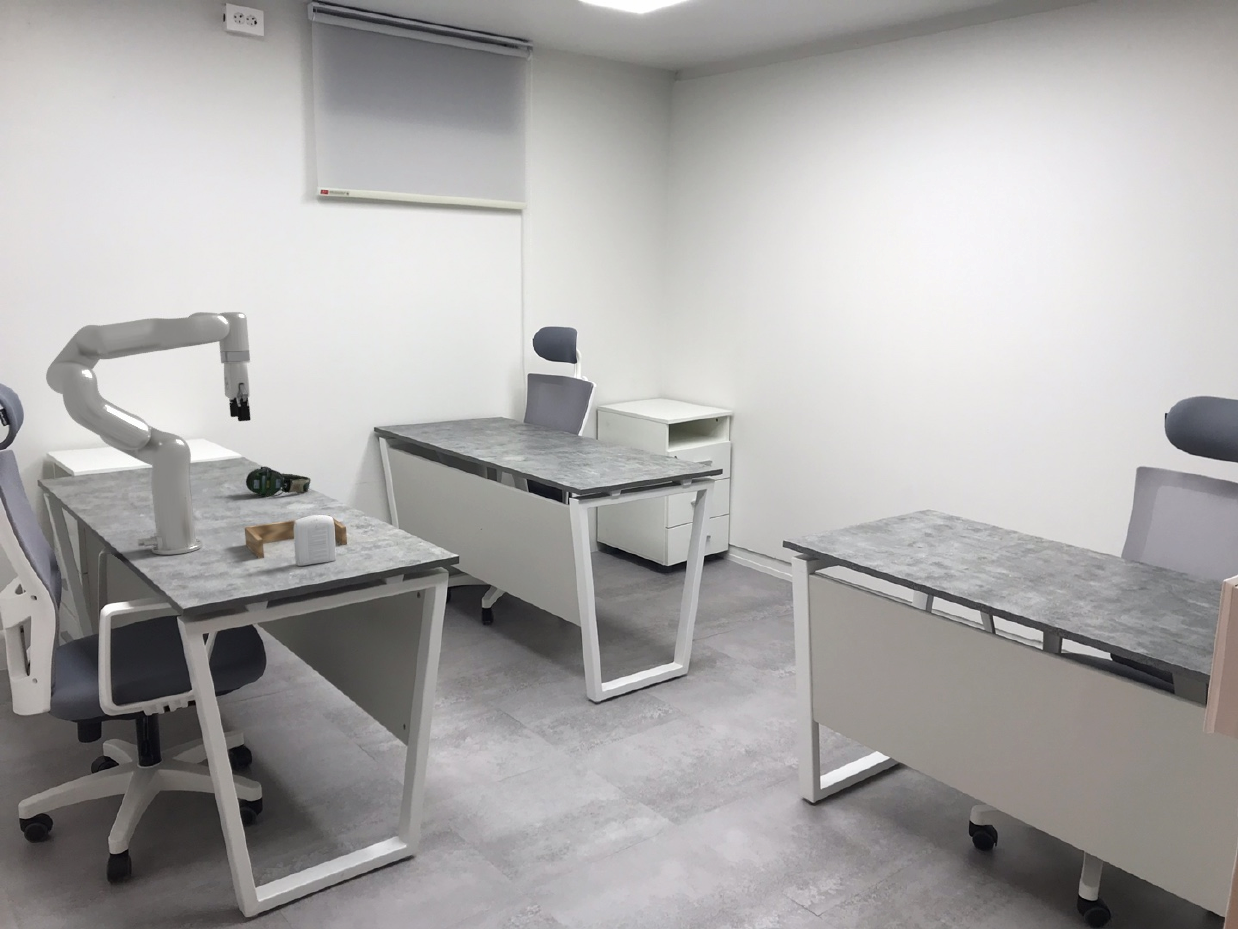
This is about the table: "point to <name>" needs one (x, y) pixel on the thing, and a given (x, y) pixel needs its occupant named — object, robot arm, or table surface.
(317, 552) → the photo printer
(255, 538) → the open box
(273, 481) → the headphones
